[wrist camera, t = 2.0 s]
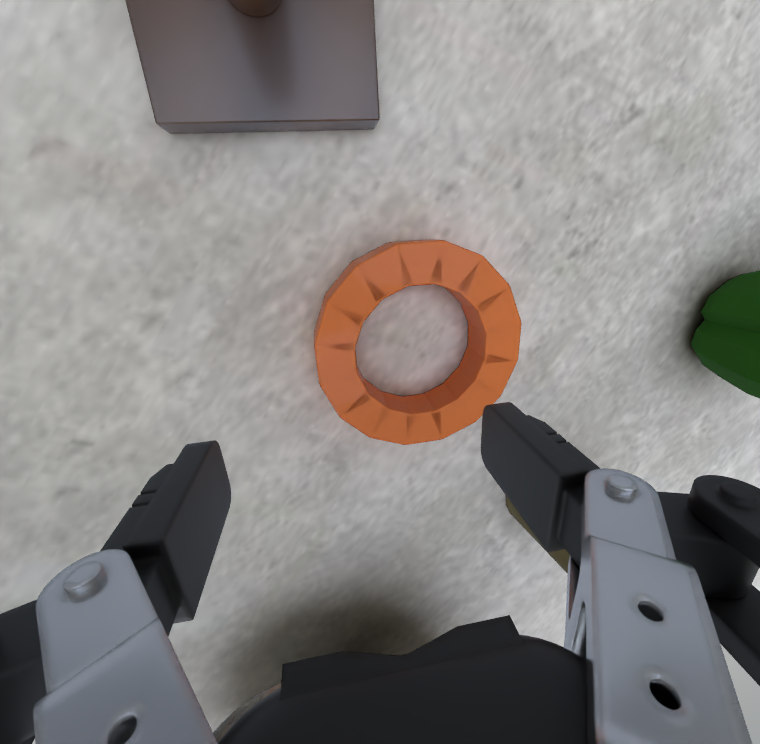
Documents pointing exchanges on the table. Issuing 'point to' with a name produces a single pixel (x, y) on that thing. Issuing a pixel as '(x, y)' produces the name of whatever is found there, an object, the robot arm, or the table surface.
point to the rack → (258, 64)
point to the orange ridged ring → (464, 386)
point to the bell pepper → (732, 333)
